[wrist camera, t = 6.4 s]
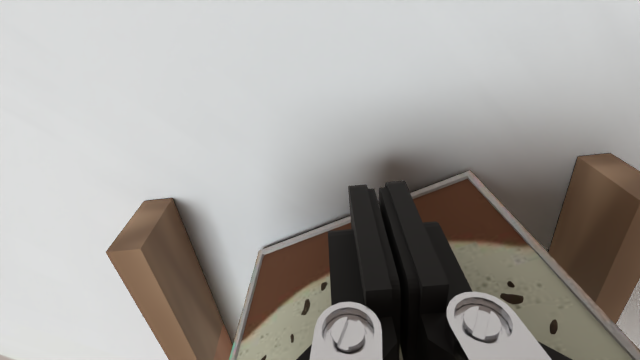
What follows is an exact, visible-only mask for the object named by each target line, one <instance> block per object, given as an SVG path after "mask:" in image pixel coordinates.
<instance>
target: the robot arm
mask: <svg viewBox="0 0 640 360" xmlns="http://www.w3.org/2000/svg"><path fill="white" fill-rule="evenodd" d="M348 188H349V203H350V216H351V229H345V230H334V231H328V248H329V267H330V287H331V306H330V307H329V308H327V309H326V310H325V311H323V313H322V314H321V315H320V317H319V318H318V320H317V323H316V325H315V329H314V335H313V341H312V344H311V345H310V346H309V347H308V348H307V349H306V350H305V351H304V352H303V353H302V354H301V355H300V356H299V357H298V358H297V359H296V360H399V354H400V348H401V352H402V356H403V360H572V359H571V358H569V357H567V356H565V355H563V354H561V353H559V352H557V351H556V350H554V349H552V348H550V347H548V346H546V345H544V344H542V343H541V342H539V341H537V340H536V339H535V338H534V336H533V335H532V334H531V332H530V331H529V330H528V329H527V327H526V326H525V325H524V323H523V322H522V321H521V320H520V318H519V317H518V316H517V314H516V313H515V312H514V311H513V310H512V309H511V308H510V307H509V306H508V305H507V304H506V303H505V302H503V301H501V300H500V299H498V298H497V297H494V296H492V295H489V294H486V293H481V292H473V291H472V289H471V287H470V285H469V283H468V281H467V279H466V277H465V275H464V273H463V271H462V269H461V267H460V265H459V263H458V261H457V259H456V257H455V255H454V253H453V251H452V249H451V247H450V245H449V243H448V241H447V238H446V236H445V234H444V232H443V230H442V228H441V226H440V225H439V223H438V222H436V221H433V222H422V220H421V217H420V215H419V213H418V210H417V208H416V206H415V203H414V201H413V199H412V196H411V194H410V192H409V189H408V187H407V185H406V183H405V181H397V182H387V183H386V184H385V187H384V188H379V205H378V201H377V197H376V194H375V190H374V189H368V188H367V185H355V186H349V187H348Z"/></svg>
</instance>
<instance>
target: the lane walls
mask: <svg viewBox="0 0 640 360" xmlns="http://www.w3.org/2000/svg"><path fill="white" fill-rule="evenodd" d="M106 253H107V255H108V257H109V259H110V260H111V262H112V264H113V265H114V267H115V269H116V270H117V272H118V274H119V276H120V277H121V279H122V281H123V282H124V284H125V286H126V288H127V289H128V291H129V293H130V294H131V296H132V298H133V299H134V301H135V303H136V305H137V306H138V308H139V310H140V311H141V313H142V315H143V316H144V318H145V320H146V322H147V323H148V325H149V327H150V328H151V330H152V332H153V333H154V335H155V337H156V339H157V340H158V342H159V344H160V345H161V347H162V349H163V350H164V352H165V354H166V356H167V357H168V359H169V360H229V357H230V354H231V350H232V346H233V345H232V343H231V340H230V338H229V335H228V333H227V330H226V328H225V326H224V323H223V321H222V318H221V316H220V313H219V311H218V308H217V306H216V303H215V301H214V299H213V296H212V294H211V291H210V289H209V286H208V284H207V281H206V279H205V277H204V274H203V272H202V269H201V267H200V264H199V262H198V259H197V257H196V254H195V252H194V250H193V247H192V245H191V242H190V240H189V237H188V235H187V232H186V230H185V228H184V225H183V223H182V220H181V218H180V215H179V213H178V210H177V208H176V205H175V203H174V201H173V198H169V199H159V200H149V201H144V202H143V203H142V204H141V206H140V207H139V208H138V210H137V211H136V212H135V214H134V215H133V216H132V218H131V219H130V220H129V222H128V223H127V224H126V226H125V227H124V228H123V230H122V231H121V232H120V234H119V235H118V236H117V238H116V239H115V241H114V242H113V243H112V245H111V246H110V247H109V249H108V250H107V251H106ZM548 253H549V254H550V255H551V256H552V257H553V259H554V260H555V261H556V262H557V263H558V264H559V265H560V266H561V267H562V268H563V269H564V270H565V271H566V272H567V273H568V274H569V276H570V277H571V278H572V279H573V280H574V281H575V282H576V283H577V284H578V285H579V286H580V287H581V288H582V289H583V290H584V291H585V292H586V294H587V295H588V296H589V297H590V298H591V299H592V300H593V301H594V302H595V303H596V304H597V305H598V306H599V307H600V308H601V309H602V311H603V312H604V313H605V314H606V315H607V316H608V317H609V318H610V319H611V320H612V321H613V322H614V323H615V324H616V323H617V321H618V319H619V317H620V315H621V313H622V311H623V309H624V307H625V305H626V303H627V302H628V300H629V298H630V296H631V294H632V292H633V290H634V288H635V286H636V284H637V282H638V280H639V278H640V171H638V170H637V169H635V168H633V167H632V166H630V165H629V164H627V163H625V162H624V161H622V160H621V159H619V158H617V157H616V156H614V155H613V154H611V153H607V154H598V155H588V156H578V158H577V161H576V164H575V168H574V171H573V174H572V177H571V181H570V184H569V187H568V190H567V194H566V197H565V200H564V203H563V207H562V210H561V213H560V216H559V220H558V223H557V226H556V229H555V233H554V236H553V239H552V242H551V246H550V249H549V252H548Z"/></svg>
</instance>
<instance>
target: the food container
mask: <svg viewBox="0 0 640 360" xmlns="http://www.w3.org/2000/svg"><path fill="white" fill-rule="evenodd" d="M410 194H411V196H412V199H413V201H414V203H415V206H416V208H417V210H418V213H419V215H420V217H421V220H422V222H433V221H436V222H438V223H439V225H440V226H441V228H442V230H443V232H444V234H445V236H446V238H447V241H448V243H449V245H450V247H451V249H452V251H453V253H454V255H455V257H456V259H457V261H458V263H459V265H460V267H461V269H462V271H463V273H464V275H465V277H466V279H467V281H468V283H469V285H470V287H471V289H472V291H473V292H481V293H486V294H489V295H492V296H494V297H497V298H498V299H500V300H501V301H503V302H505V303H506V304H507V305H508V306H509V307H510V308H511V309H512V310H513V311H514V312H515V313H516V314H517V316H518V317H519V318H520V320H521V321H522V322H523V323H524V325H525V326H526V327H527V329H528V330H529V331H530V332H531V334H532V335H533V336H534V338H535V339H536V340H537V341H539V342H541V343H542V344H544V345H546V346H548V347H550V348H552V349H554V350H556V351H557V352H559V353H561V354H563V355H565V356H567V357H569V358H571V359H572V360H640V350H639V349H638V348H637V347H636V346H635V344H634V343H633V342H632V341H631V340H630V339H629V338H628V337H627V336H626V335H625V334H624V333H623V332H622V331H621V330H620V329H619V328H618V326H617V325H616V324H615V323H614V322H613V321H612V320H611V319H610V318H609V317H608V316H607V315H606V314H605V313H604V312H603V311H602V309H601V308H600V307H599V306H598V305H597V304H596V303H595V302H594V301H593V300H592V299H591V298H590V297H589V296H588V295H587V294H586V292H585V291H584V290H583V289H582V288H581V287H580V286H579V285H578V284H577V283H576V282H575V281H574V280H573V279H572V278H571V277H570V276H569V274H568V273H567V272H566V271H565V270H564V269H563V268H562V267H561V266H560V265H559V264H558V263H557V262H556V261H555V260H554V259H553V257H552V256H551V255H550V254H549V253H548V252H547V251H546V250H545V249H544V248H543V247H542V246H541V245H540V244H539V243H538V242H537V241H536V239H535V238H534V237H533V236H532V235H531V234H530V233H529V232H528V231H527V230H526V229H525V228H524V227H523V226H522V225H521V224H520V222H519V221H518V220H517V219H516V218H515V217H514V216H513V215H512V214H511V213H510V212H509V211H508V210H507V209H506V208H505V207H504V206H503V204H502V203H501V202H500V201H499V200H498V199H497V198H496V197H495V196H494V195H493V194H492V193H491V192H490V191H489V190H488V189H487V187H486V186H485V185H484V184H483V183H482V182H481V181H480V180H479V179H478V178H477V177H476V176H475V175H474V174H473V173H472V172H471V170H470V171H467V172H464V173H462V174H459V175H456V176H454V177H451V178H449V179H446V180H443V181H441V182H438V183H435V184H433V185H430V186H428V187H425V188H422V189H420V190H417V191H414V192H412V193H410ZM345 229H351V216H349V217H346V218H344V219H341V220H338V221H336V222H333V223H330V224H328V225H325V226H323V227H320V228H317V229H315V230H312V231H309V232H307V233H304V234H302V235H299V236H296V237H294V238H291V239H288V240H286V241H283V242H281V243H278V244H275V245H273V246H270V247H267V248H265V249H262V250H260V251H259V252H258V256H257V259H256V263H255V267H254V270H253V274H252V278H251V281H250V285H249V288H248V292H247V296H246V299H245V303H244V307H243V310H242V314H241V317H240V321H239V325H238V328H237V332H236V336H235V339H234V343H233V346H232V350H231V354H230V357H229V360H296V359H297V358H298V357H299V356H300V355H301V354H302V353H303V352H304V351H305V350H306V349H307V348H308V347H309V346H310V345H311V344H312V341H313V335H314V329H315V325H316V323H317V320H318V318H319V317H320V315H321V314H322V313H323V311H325V310H326V309H327V308H329V307H330V306H331V287H330V267H329V248H328V231H334V230H345ZM399 360H403V356H402V352H401V348H400V354H399Z"/></svg>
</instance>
